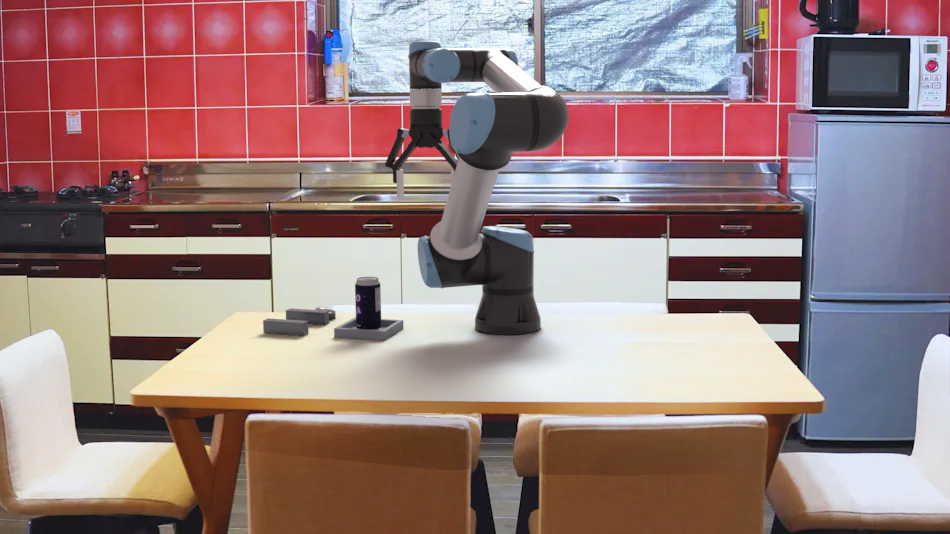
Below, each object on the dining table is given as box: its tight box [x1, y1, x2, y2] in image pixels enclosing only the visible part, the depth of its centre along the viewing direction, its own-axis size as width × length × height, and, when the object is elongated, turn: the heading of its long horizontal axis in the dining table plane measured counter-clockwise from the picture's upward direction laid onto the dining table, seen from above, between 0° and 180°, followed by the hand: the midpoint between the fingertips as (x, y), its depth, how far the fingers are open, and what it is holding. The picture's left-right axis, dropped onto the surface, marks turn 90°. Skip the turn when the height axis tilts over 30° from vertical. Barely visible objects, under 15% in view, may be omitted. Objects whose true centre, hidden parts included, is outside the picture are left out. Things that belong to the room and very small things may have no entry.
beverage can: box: [354, 276, 382, 330], centre depth 249 cm, size 6×6×12 cm
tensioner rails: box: [262, 306, 337, 337], centre depth 258 cm, size 10×21×3 cm, turn 163°
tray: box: [333, 316, 404, 341], centre depth 249 cm, size 12×12×2 cm
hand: (427, 197), depth 263 cm, fingers open, 13 cm apart
